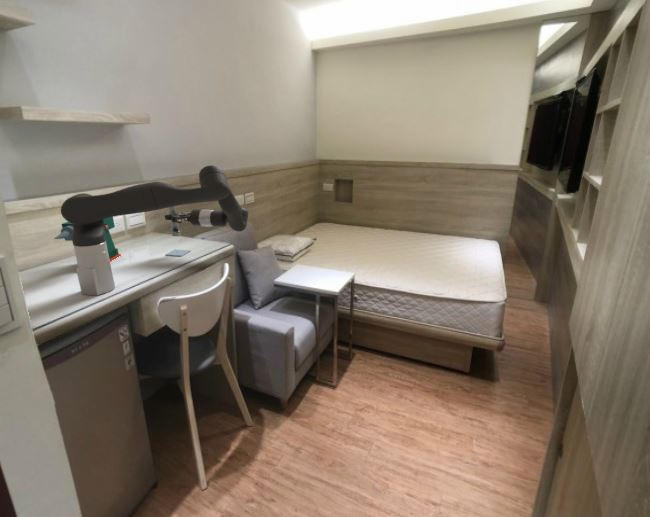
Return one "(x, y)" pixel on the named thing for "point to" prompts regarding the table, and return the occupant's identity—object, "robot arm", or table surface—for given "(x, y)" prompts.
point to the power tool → (109, 224)
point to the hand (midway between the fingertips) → (167, 216)
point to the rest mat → (177, 252)
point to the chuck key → (175, 227)
